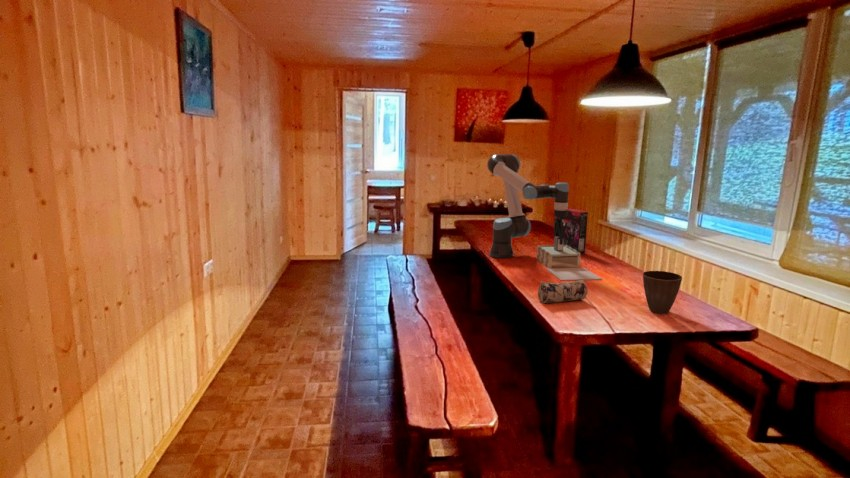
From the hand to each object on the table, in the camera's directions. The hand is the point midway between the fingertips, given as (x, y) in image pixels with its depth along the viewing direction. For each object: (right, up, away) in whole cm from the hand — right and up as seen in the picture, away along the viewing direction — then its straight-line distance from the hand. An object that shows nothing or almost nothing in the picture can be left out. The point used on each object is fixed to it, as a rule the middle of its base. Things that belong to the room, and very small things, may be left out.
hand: (558, 248), depth 282 cm
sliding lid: (0, -2, 0) cm, 2 cm away
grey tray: (+2, -14, -21) cm, 25 cm away
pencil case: (-16, -23, -63) cm, 69 cm away
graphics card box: (+19, -2, +35) cm, 39 cm away
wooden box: (0, -9, +2) cm, 9 cm away
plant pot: (+22, -25, -76) cm, 83 cm away
